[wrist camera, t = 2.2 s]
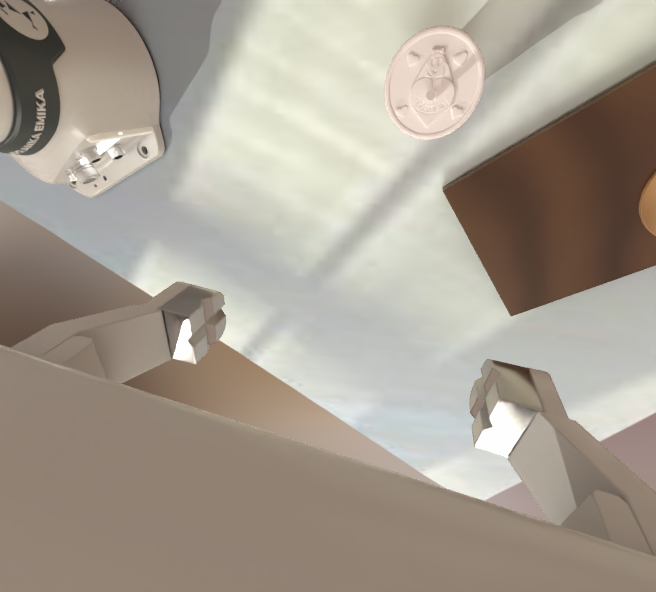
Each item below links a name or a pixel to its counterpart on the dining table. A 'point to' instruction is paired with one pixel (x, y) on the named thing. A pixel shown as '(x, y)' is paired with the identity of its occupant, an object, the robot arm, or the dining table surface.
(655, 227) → the serving board
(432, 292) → the dining table surface
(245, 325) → the dining table surface
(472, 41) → the smoothie
